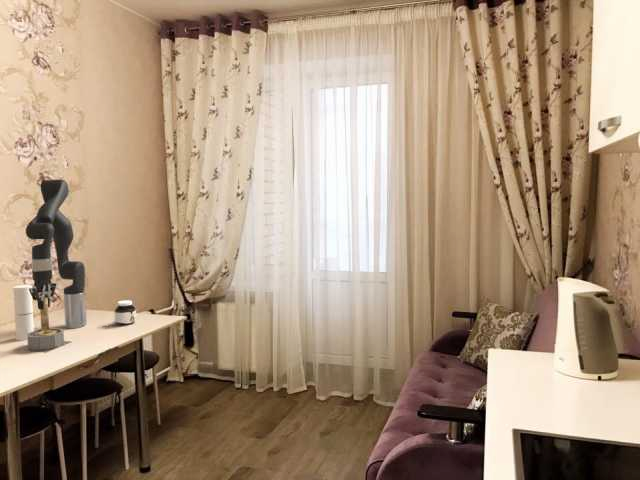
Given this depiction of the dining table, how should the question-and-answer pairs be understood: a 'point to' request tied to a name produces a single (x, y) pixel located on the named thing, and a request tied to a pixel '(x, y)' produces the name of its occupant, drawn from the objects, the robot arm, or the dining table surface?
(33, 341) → the grey octagonal bowl
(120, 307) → the spread jar
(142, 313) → the dining table surface
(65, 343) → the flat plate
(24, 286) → the cylindrical container
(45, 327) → the wick
